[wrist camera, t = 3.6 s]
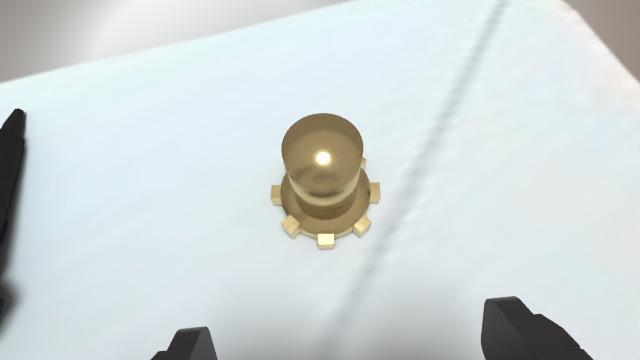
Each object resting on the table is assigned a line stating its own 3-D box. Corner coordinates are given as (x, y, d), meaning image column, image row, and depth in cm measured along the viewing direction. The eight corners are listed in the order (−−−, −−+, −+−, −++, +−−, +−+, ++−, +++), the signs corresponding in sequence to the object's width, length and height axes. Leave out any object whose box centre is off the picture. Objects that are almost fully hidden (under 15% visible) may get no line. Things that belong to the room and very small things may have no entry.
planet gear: (272, 250, 22) (244, 216, 16) (277, 154, 26) (256, 92, 19) (381, 248, 22) (402, 213, 15) (373, 152, 25) (387, 88, 19)
